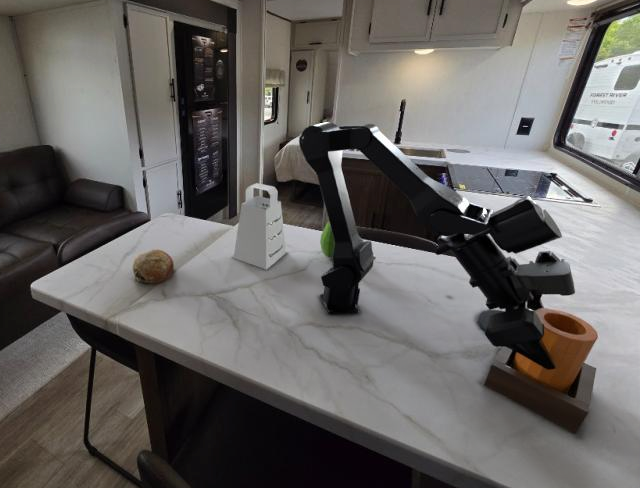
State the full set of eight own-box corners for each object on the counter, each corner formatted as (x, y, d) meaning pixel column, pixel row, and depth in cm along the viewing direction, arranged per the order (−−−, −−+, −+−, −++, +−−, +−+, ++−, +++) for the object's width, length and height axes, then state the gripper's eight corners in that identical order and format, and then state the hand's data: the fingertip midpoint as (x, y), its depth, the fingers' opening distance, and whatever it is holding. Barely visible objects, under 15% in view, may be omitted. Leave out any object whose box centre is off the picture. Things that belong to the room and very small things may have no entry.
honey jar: (532, 408, 52) (565, 342, 46) (496, 370, 58) (522, 309, 53) (574, 404, 52) (612, 338, 47) (534, 367, 58) (563, 306, 53)
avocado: (316, 261, 91) (320, 220, 86) (321, 248, 97) (325, 209, 93) (347, 267, 88) (353, 225, 83) (350, 253, 95) (356, 213, 90)
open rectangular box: (575, 434, 48) (588, 412, 46) (483, 384, 55) (491, 364, 54) (584, 388, 55) (596, 368, 53) (501, 349, 62) (509, 330, 60)
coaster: (507, 353, 62) (508, 351, 61) (465, 313, 72) (465, 311, 71) (563, 348, 62) (564, 346, 62) (513, 310, 72) (514, 308, 72)
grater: (254, 243, 101) (255, 178, 93) (285, 253, 95) (289, 185, 87) (233, 257, 93) (232, 188, 85) (266, 269, 88) (268, 196, 79)
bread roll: (132, 287, 87) (119, 269, 81) (152, 255, 93) (140, 236, 87) (165, 295, 83) (153, 278, 78) (183, 262, 89) (174, 243, 84)
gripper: (545, 270, 42) (634, 382, 40) (544, 221, 55) (611, 303, 53) (455, 298, 49) (526, 393, 47) (473, 249, 63) (529, 322, 61)
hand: (551, 349), depth 52 cm, fingers open, 9 cm apart
